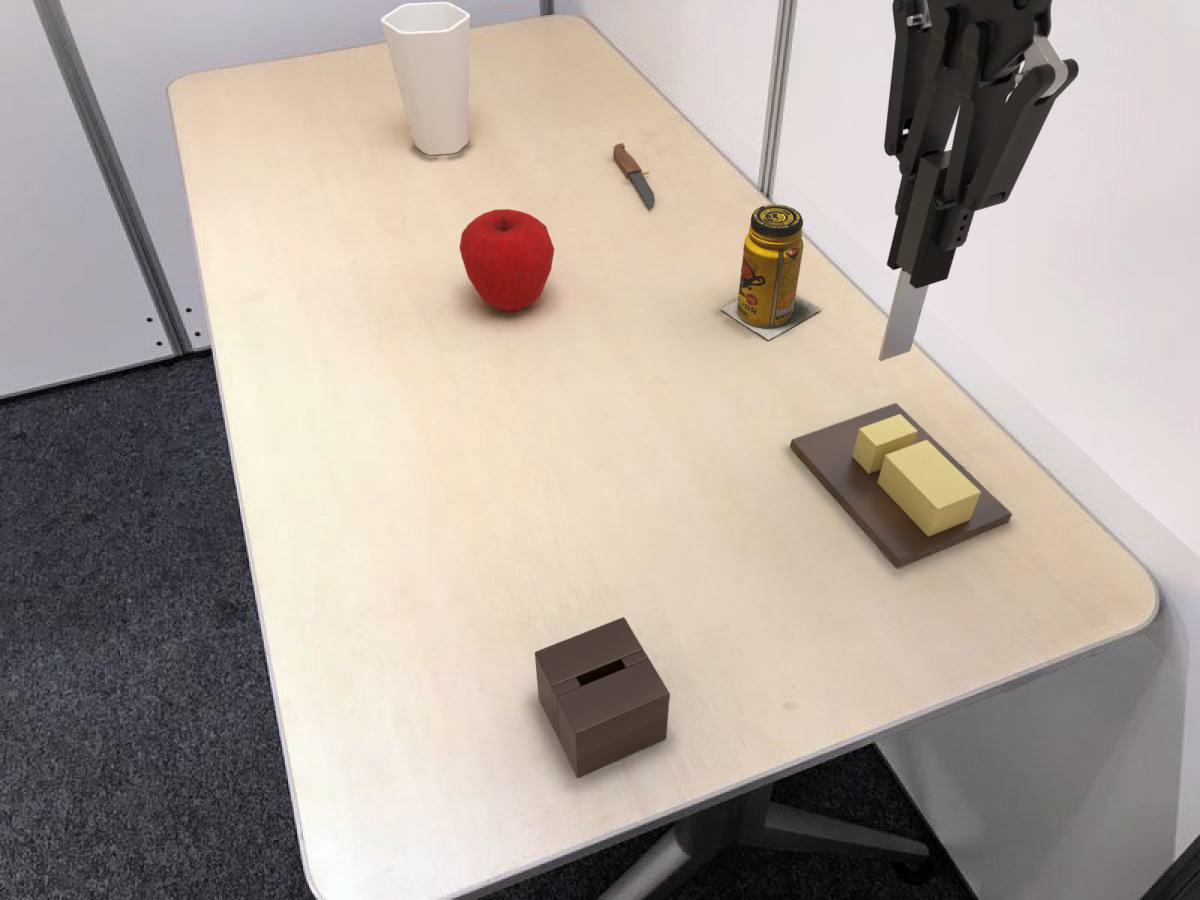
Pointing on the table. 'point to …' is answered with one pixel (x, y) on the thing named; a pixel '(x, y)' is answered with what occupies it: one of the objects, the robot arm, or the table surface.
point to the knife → (634, 173)
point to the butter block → (928, 487)
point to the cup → (432, 72)
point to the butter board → (870, 502)
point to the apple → (507, 258)
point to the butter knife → (913, 257)
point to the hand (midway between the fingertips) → (916, 271)
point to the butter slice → (882, 441)
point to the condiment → (771, 273)
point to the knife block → (602, 696)
